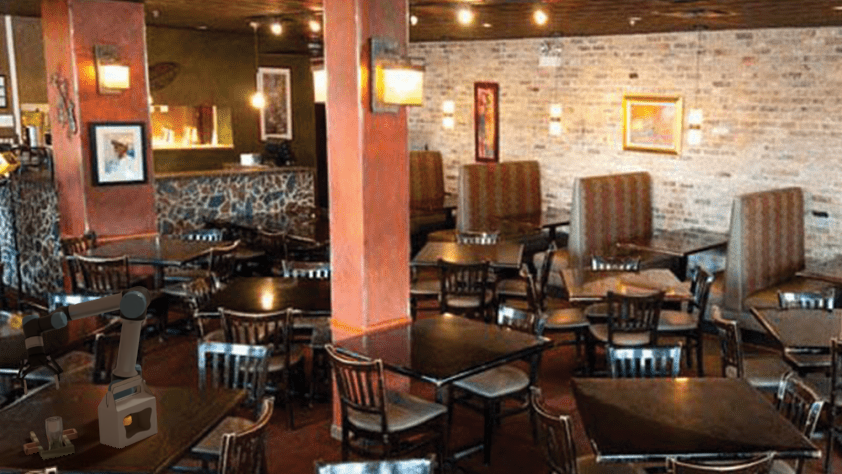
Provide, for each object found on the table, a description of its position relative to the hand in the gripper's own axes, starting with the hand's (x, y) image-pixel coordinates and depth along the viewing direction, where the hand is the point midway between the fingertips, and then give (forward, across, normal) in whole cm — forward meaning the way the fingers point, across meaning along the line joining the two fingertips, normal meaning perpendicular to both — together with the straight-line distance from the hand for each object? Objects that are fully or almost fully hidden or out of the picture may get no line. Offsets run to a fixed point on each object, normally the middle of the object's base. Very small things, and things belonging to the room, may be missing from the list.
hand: (42, 391), depth 387 cm
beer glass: (+30, +1, +11) cm, 32 cm away
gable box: (+32, -30, +15) cm, 46 cm away
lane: (+26, 0, +4) cm, 26 cm away
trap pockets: (+25, 0, +2) cm, 25 cm away
